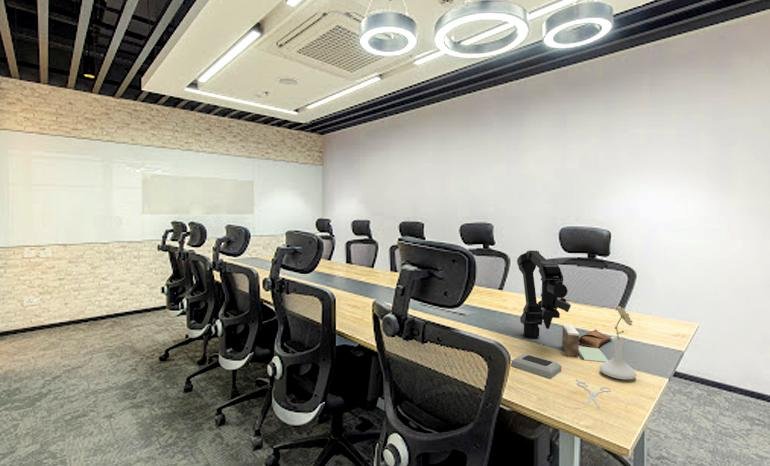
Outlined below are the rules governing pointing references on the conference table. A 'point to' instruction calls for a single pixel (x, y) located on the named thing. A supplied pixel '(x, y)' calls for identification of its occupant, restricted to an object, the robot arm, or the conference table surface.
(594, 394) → the scissors
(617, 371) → the flower in vase
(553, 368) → the grey flat block
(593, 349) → the mat
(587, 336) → the sunglasses case
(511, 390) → the conference table surface
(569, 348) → the walnut block
